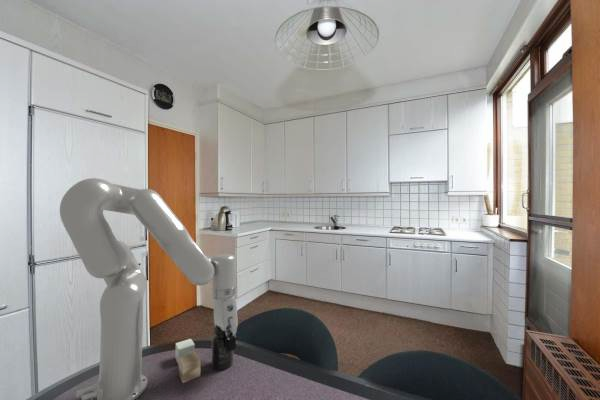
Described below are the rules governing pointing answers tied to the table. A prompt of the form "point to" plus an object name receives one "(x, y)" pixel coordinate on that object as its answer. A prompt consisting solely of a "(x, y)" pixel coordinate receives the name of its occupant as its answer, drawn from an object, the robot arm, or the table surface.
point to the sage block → (184, 349)
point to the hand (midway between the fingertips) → (224, 343)
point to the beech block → (189, 367)
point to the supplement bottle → (220, 351)
